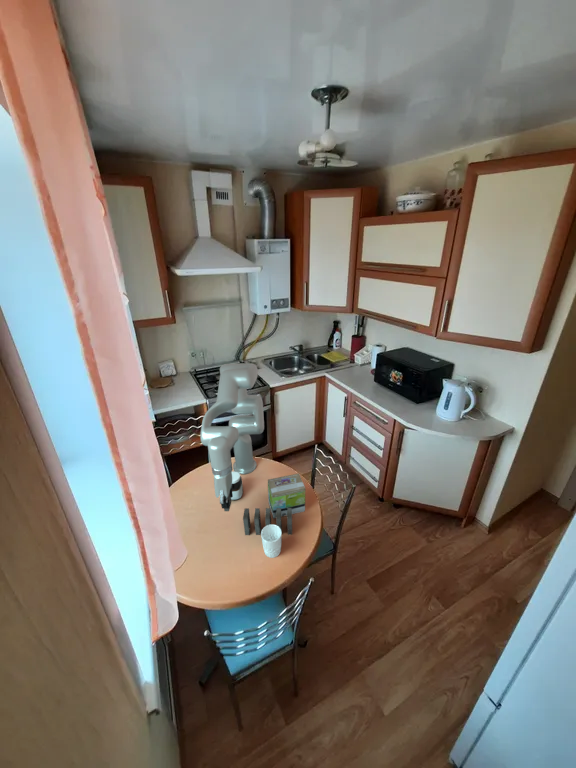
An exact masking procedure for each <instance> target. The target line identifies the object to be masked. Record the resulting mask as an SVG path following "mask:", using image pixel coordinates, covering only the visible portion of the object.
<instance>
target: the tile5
mask: <svg viewBox="0 0 576 768" xmlns="http://www.w3.org/2000/svg"><path fill="white" fill-rule="evenodd" d="M286 519H287V521H286V522H287V523H286V526H287V535H290V536H291V535H293V514H292V508H287V515H286Z"/></svg>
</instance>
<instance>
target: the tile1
mask: <svg viewBox="0 0 576 768" xmlns="http://www.w3.org/2000/svg"><path fill="white" fill-rule="evenodd" d="M243 510H244V511H243V514H242V515H243V516H242V520H243V521H242V522H243V529H244V536H250V533H251V526H252V525H251V524H252V523H251V515H250V509H249V508H247V507H245V508H244V509H243Z"/></svg>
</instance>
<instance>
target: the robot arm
mask: <svg viewBox="0 0 576 768" xmlns="http://www.w3.org/2000/svg"><path fill="white" fill-rule="evenodd" d="M258 375H259V371H258V366H257V365H256V364H255V363H249V362H247V363H235V362H234V363H224V364H222V365H221V366H220V367H219V381H218V389H217V394H216V395H217V396H216V402H215V403H214V404H213V405H211V406H210V407H209V408H208V410H207V411H206V412H205V414H204V416H203V418H202V422H201V428H200V442H201V444H202V445H203V446H205V447H207V450H208V456H209V461H210V467H211V471H212V475H213V481H214V482H213V485H214V493H215V494H214V495H215V498H217V499H218V498H219V505H221V509H224V508H225V509H229V508H231V505H230V503H229V500H228V496H229V492H230V496H231V497H233V494H232V489H231V488H232V486H231V485H232V472H233V471H235V472H238V473H239V474H240V475H247V474H251V473H252V472H254V471H255V470H256V468H257V461H256V460H255V459H254V456H253V455H254V454H253V446H252V445H253V443H252V437H251V435H261V434H262V433H263V432H264V430H265V417H264V402H263V398H262V396H260V395H259V394H248V390H247V389H252V388H253V387H254V386H255V384H256V382H257V379H258ZM230 410H231V413H232V414H235V415H234V416H232V417H230V419H229V421H228V425H226V426H224V425H223V426H221V425H220V426H218V425H216V426H215V425H213V426H212V423H213V421H214V420H215V419H216V418H217V417H218V416H220V415H222V414H224V413H226V412H229V411H230ZM232 449H233V453H234V463H233V462H232V455H231V451H232ZM232 463H233V464H232ZM224 497H226V499H224ZM229 510H230V509H229Z"/></svg>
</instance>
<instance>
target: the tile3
mask: <svg viewBox="0 0 576 768" xmlns="http://www.w3.org/2000/svg"><path fill="white" fill-rule="evenodd" d="M271 515H272V511H271V508H270V507H269V508H268V507H266V508H265V515H264V516H265V517H264V519H265V523H264V524H265V526H267V525H271V524H272V518H271V517H272V516H271Z"/></svg>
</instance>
